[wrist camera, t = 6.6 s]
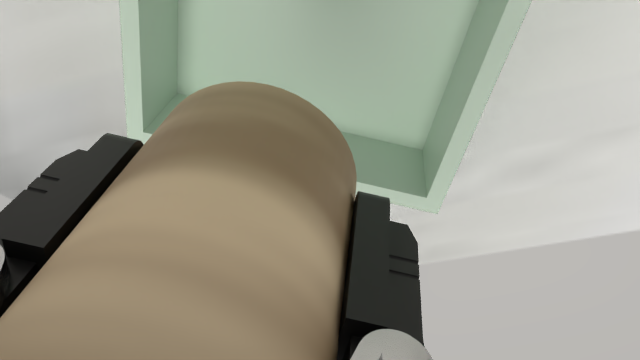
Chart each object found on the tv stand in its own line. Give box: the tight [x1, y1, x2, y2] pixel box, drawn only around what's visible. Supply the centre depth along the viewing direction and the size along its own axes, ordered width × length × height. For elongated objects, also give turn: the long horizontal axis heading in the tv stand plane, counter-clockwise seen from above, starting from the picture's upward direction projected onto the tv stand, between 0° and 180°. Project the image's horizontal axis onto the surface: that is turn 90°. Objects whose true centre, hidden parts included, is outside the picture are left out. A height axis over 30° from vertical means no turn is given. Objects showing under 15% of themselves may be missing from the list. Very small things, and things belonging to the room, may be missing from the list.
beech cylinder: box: [0, 81, 357, 360], centre depth 9 cm, size 5×5×7 cm
